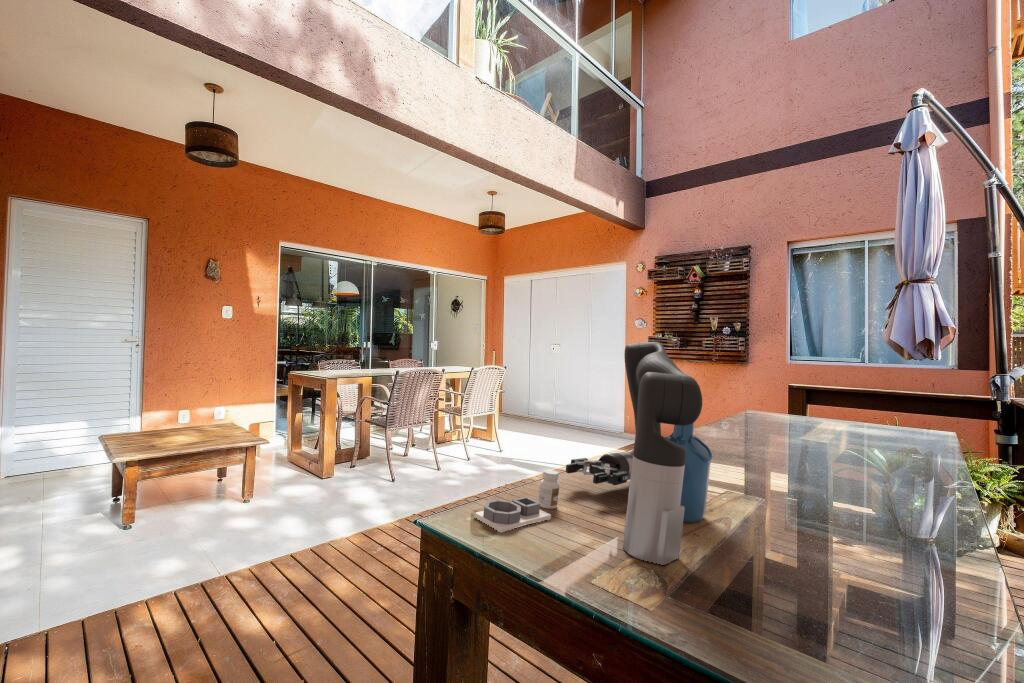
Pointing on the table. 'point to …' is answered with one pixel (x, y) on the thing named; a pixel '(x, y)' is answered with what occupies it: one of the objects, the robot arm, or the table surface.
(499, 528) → the socket board
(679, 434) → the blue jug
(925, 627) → the table surface
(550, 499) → the pill bottle
